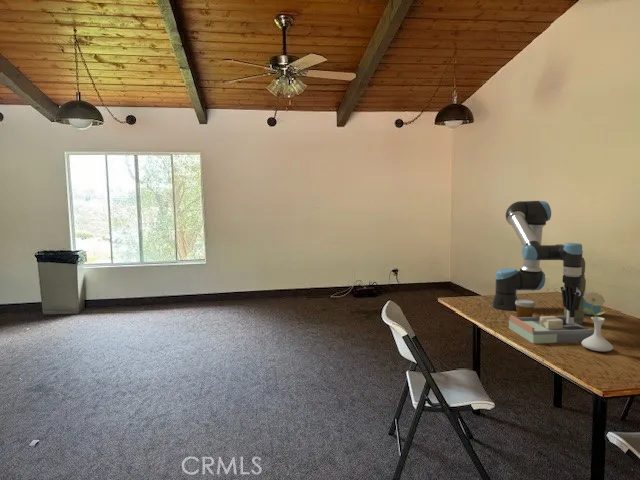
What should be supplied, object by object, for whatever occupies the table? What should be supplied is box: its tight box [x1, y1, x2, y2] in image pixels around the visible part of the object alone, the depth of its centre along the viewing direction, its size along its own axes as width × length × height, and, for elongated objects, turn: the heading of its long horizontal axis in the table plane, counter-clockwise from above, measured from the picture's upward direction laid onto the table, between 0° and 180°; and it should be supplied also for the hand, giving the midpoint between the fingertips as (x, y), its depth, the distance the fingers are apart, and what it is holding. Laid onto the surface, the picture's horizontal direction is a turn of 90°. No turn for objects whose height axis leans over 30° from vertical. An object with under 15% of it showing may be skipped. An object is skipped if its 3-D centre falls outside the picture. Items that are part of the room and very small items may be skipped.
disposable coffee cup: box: [515, 298, 536, 317], centre depth 209 cm, size 10×10×12 cm
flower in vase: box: [580, 291, 614, 352], centre depth 172 cm, size 13×11×25 cm
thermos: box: [563, 257, 587, 326], centre depth 208 cm, size 9×12×35 cm
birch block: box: [539, 315, 563, 329], centre depth 191 cm, size 7×7×4 cm
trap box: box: [508, 314, 595, 344], centre depth 192 cm, size 22×30×7 cm
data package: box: [583, 291, 602, 316], centre depth 224 cm, size 12×4×12 cm, turn 69°
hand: (569, 323), depth 192 cm, fingers closed
